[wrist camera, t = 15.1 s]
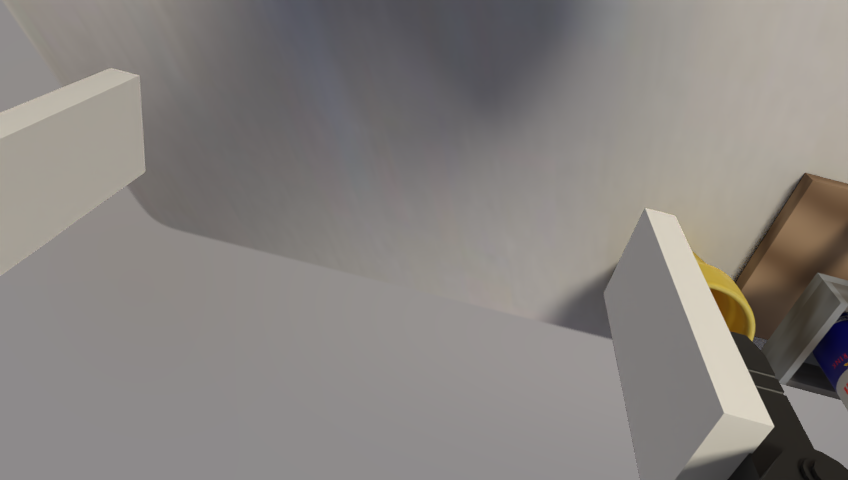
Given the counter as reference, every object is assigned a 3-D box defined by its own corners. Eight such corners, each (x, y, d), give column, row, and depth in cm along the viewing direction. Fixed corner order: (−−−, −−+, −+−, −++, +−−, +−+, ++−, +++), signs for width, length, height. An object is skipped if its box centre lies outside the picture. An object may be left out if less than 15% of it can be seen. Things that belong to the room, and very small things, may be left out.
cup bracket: (805, 172, 47) (866, 232, 39) (947, 209, 47) (1040, 278, 38) (713, 316, 56) (746, 391, 47) (833, 348, 55) (888, 429, 47)
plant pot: (738, 231, 51) (780, 296, 42) (697, 320, 56) (727, 393, 48) (622, 212, 52) (640, 272, 43) (592, 302, 57) (604, 370, 49)
